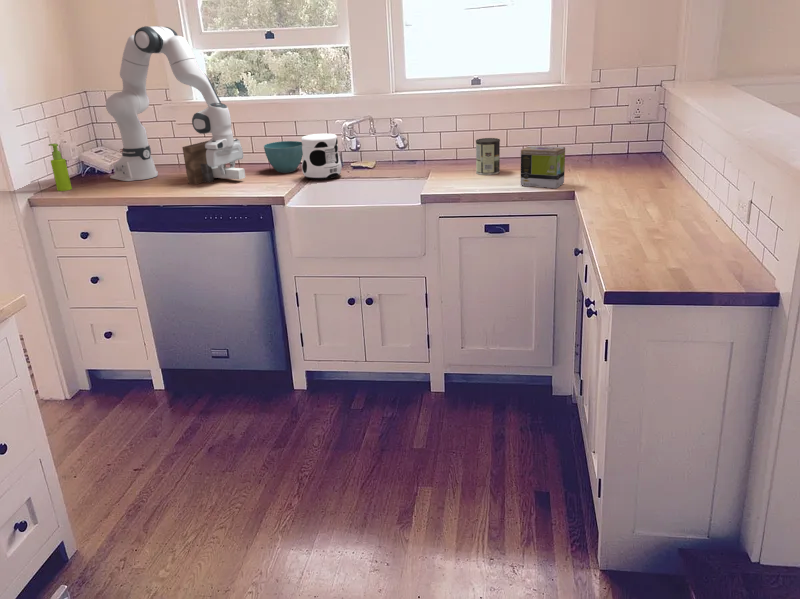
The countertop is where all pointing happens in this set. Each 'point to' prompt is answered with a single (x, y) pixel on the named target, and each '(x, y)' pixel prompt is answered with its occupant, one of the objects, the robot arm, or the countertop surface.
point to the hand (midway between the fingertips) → (227, 173)
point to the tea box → (542, 166)
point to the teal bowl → (284, 155)
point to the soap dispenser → (60, 170)
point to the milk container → (320, 156)
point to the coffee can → (488, 156)
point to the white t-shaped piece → (229, 173)
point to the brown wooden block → (197, 164)
